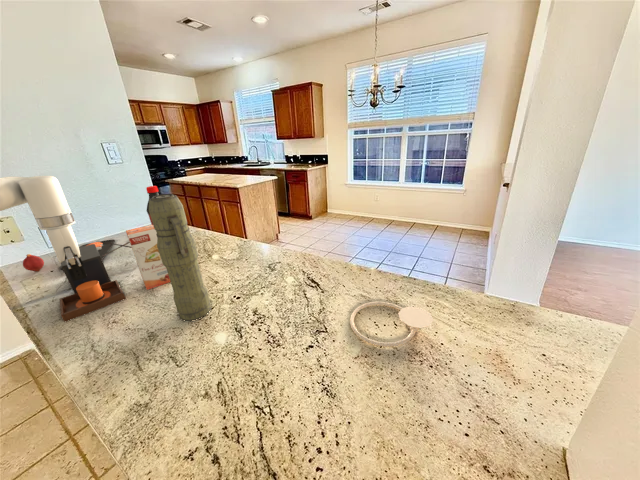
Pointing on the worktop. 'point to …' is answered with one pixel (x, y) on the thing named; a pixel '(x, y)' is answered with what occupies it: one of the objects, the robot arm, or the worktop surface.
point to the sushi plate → (104, 247)
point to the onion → (33, 263)
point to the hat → (90, 293)
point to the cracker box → (148, 256)
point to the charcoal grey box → (88, 267)
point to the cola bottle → (152, 192)
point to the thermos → (179, 256)
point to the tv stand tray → (72, 311)
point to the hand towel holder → (408, 315)
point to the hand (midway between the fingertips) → (79, 273)
